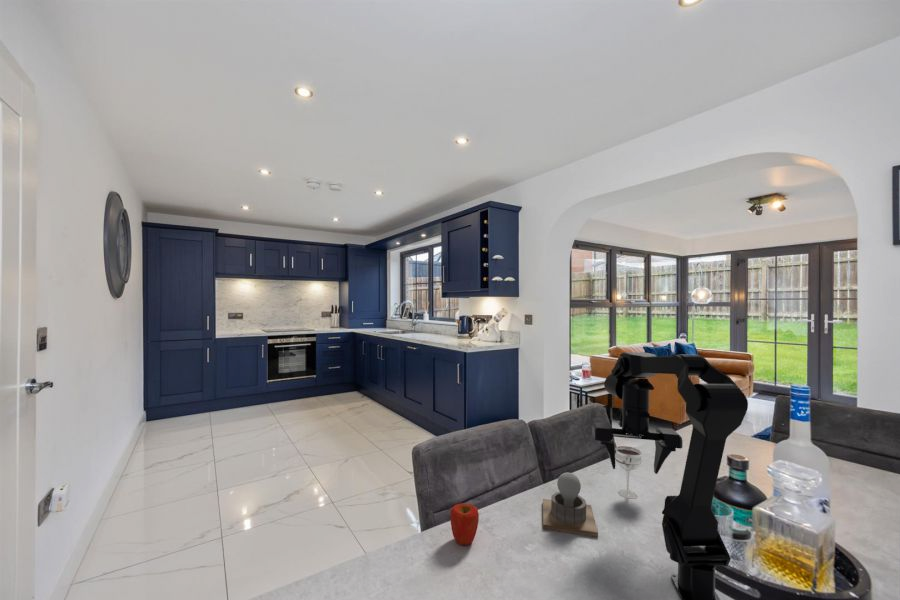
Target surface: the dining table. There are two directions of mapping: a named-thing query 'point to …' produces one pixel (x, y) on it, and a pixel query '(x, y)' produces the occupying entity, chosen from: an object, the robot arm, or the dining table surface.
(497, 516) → the dining table surface
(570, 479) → the light bulb
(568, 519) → the socket base
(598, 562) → the dining table surface
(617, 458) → the wineglass
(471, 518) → the apple
